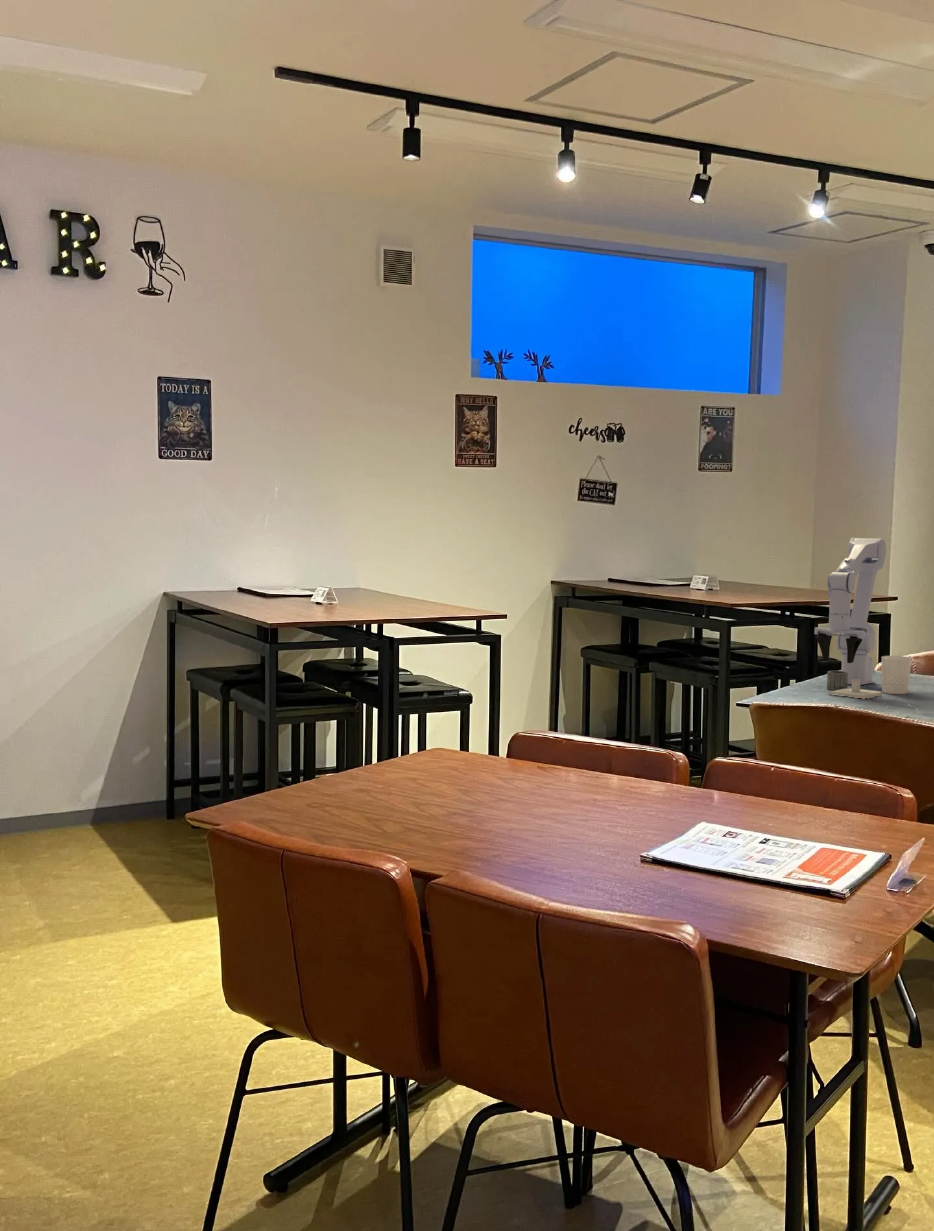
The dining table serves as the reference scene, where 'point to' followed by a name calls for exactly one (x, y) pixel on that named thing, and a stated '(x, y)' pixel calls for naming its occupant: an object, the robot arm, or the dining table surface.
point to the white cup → (895, 674)
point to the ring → (837, 680)
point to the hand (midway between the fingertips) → (838, 661)
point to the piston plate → (858, 694)
